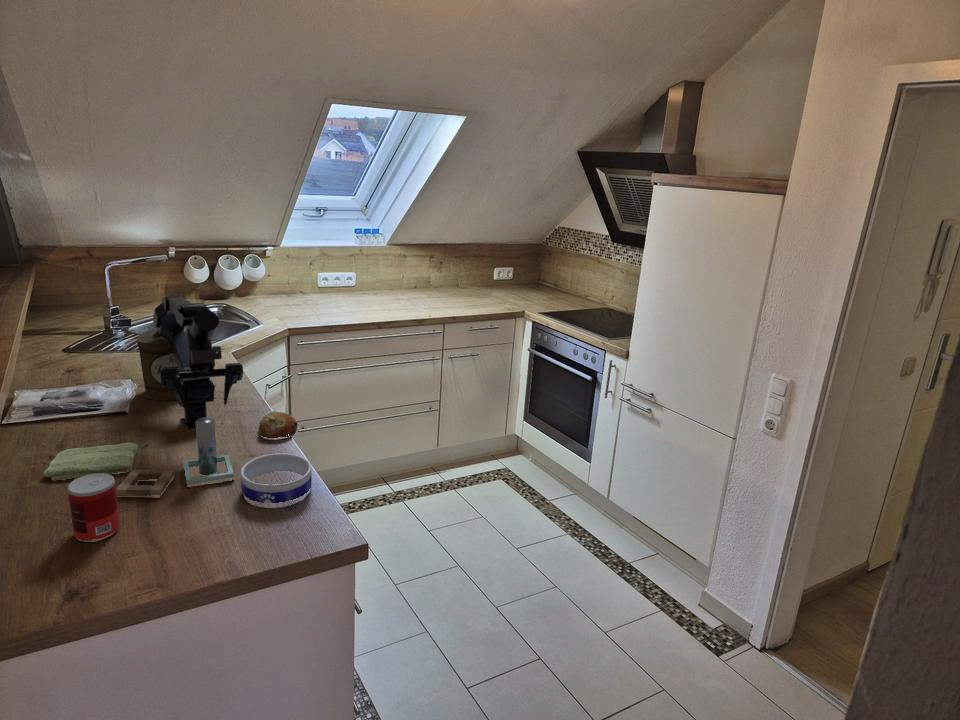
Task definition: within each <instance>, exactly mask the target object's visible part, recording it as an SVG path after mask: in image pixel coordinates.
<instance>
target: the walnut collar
mask: <svg viewBox="0 0 960 720" xmlns="http://www.w3.org/2000/svg"><path fill="white" fill-rule="evenodd" d="M127 474H128V475H127V476H126V477H125V478H124V479H123V481H121V483H120V484H119V485H118V486H117V487H116V495H117V496H148V495H149V496H151V495H161V493H162V492H163V491H164V489H165V488H166V486H167V485H168V483H169V482H170V480H171V479H172V478H173V476H175V470H174V469H169V470H167V469H166V470H165V469H132V470H131V471H130V472H128V473H127ZM149 479H158V480H157V481H156V482H154V484H153V485H151V484H150V485H149V484H148V485H147V484H146V485H145V484H142V485H141V484H139V485H138V484H137V485H135V484H136V483H137V482H138V480H149Z"/></svg>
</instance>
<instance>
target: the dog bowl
mask: <svg viewBox="0 0 960 720" xmlns="http://www.w3.org/2000/svg"><path fill="white" fill-rule="evenodd" d="M274 471H290V472H295V473H297V474H300V475H302V476H303V477H301V478H299V479H297V480H295V481H292V482H288V483H283V484H273V485H269V484H260V483H255V482H253V481H250V480H252V479H253V478H255V477H257V476H260V475H262V474H265V473H270V472H274ZM312 472H313V471H312V464H311V462H310V461H309V459H307V458H305V457H303V456H300V455H297V454H292V453H282V452H281V453H279V452H278V453H271V454H270V453H269V454H264V455H260V456H257V457H255V458H253V459H251V460H249V461H248V462H246V463H245V464H244V465H243V466H242V468H241V469H240V483H241V484H240V486H241V494H242V493H243V494H244V495H245V496H246V497H247V498H249V499H250V500H253V501H257V502H261V503H279V502H285V501H289V500H293V499H296V498H299V497H300V496H303V495H304V494H305V493H307V492H308V491H309V489H310V488H311V489H312V478H313V476H312Z"/></svg>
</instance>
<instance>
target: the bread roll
mask: <svg viewBox="0 0 960 720" xmlns="http://www.w3.org/2000/svg"><path fill="white" fill-rule="evenodd" d="M259 421H260V422H259V425H258V430H259V431H257V433H258V432H259V433H258V435H259V434H260V435H261V436H263V437H267V438H278V437H289V436H290V437H289V438H291V437H293V436H294V435H295V434H297V430H298V421H296V419H295V417H294V416H292V415H290V414H288V413H286V412H282V411H276V410H271V411H270V412H267V413H266V414H265V415H264V416H263V417H262V418H261V419H260V420H259ZM288 434H289V436H288ZM260 435H259V436H260ZM286 435H287V436H286ZM261 436H260V437H261Z"/></svg>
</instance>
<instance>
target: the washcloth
mask: <svg viewBox="0 0 960 720" xmlns="http://www.w3.org/2000/svg"><path fill="white" fill-rule="evenodd" d="M138 452H139V447H138V445H137V444H136V443H133V442H122V443H118V444H105V445H97V446H90V447H76V448H75V447H74V448H68V449H64V450H62V451H59V452H58V453H57V454H56V455H55V457H54V458H53V459H52V460H51V461H50V462H49V466H48V467H47V469H45V470H44V472H43V477H44V478H45V477H46V478H51V481H52V480H62V479H68V478H70V479H71V478H78V477H82V476H86V475H90V474H97V473H104V474H112V473H118V472H127V471H130V472H131V471H132V470H133V467H134V463H135V458H136V456H137V454H138ZM71 480H72V479H71ZM62 481H63V480H62Z"/></svg>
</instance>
